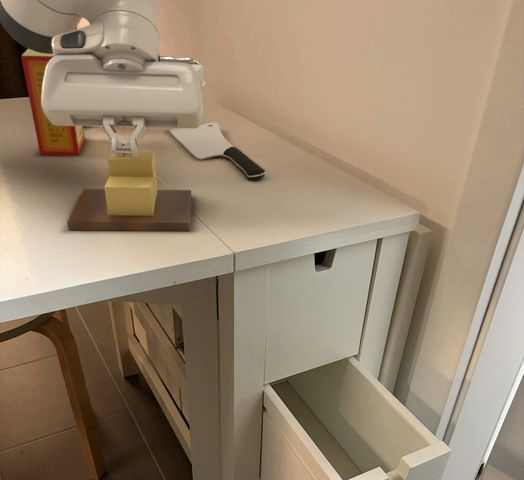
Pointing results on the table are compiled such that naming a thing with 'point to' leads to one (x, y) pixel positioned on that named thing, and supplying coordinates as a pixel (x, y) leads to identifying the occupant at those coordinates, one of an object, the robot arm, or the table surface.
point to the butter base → (134, 166)
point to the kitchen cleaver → (215, 147)
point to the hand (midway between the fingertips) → (124, 154)
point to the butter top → (130, 196)
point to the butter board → (164, 217)
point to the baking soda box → (48, 135)
